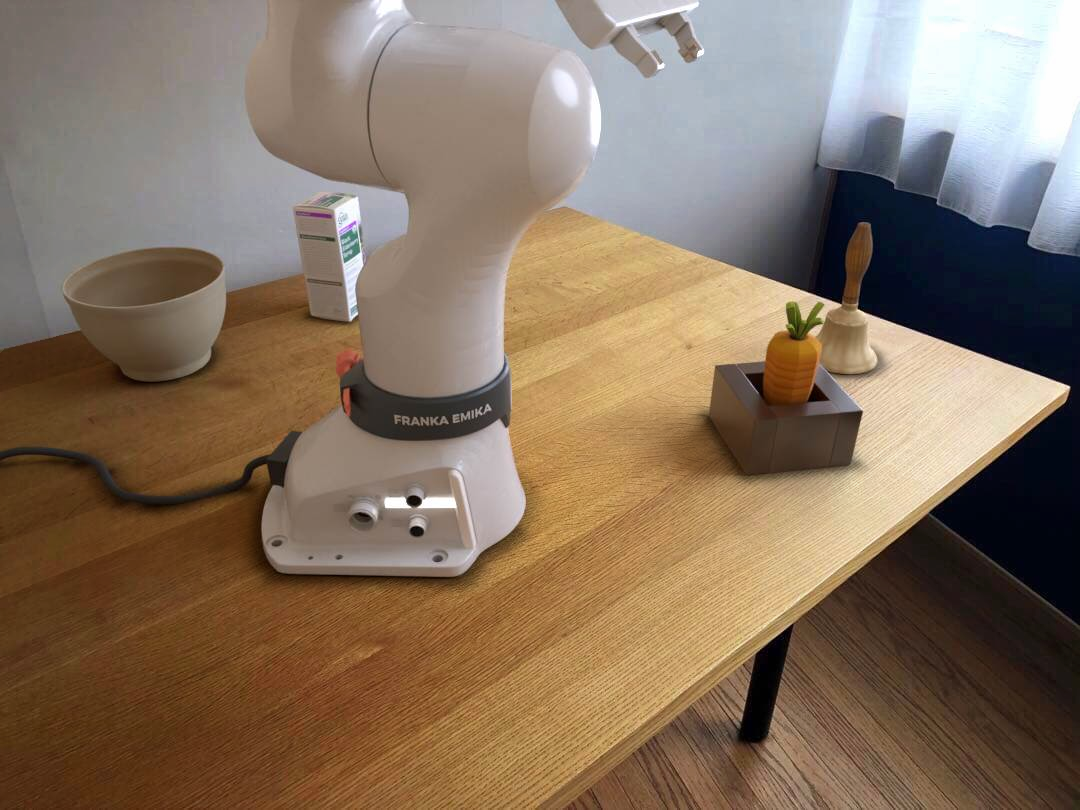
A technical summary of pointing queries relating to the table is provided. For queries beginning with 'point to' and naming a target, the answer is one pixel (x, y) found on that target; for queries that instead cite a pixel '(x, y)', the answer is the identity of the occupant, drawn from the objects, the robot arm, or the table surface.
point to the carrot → (792, 359)
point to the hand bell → (849, 315)
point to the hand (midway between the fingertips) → (677, 65)
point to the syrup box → (330, 253)
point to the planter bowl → (151, 309)
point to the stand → (782, 422)
